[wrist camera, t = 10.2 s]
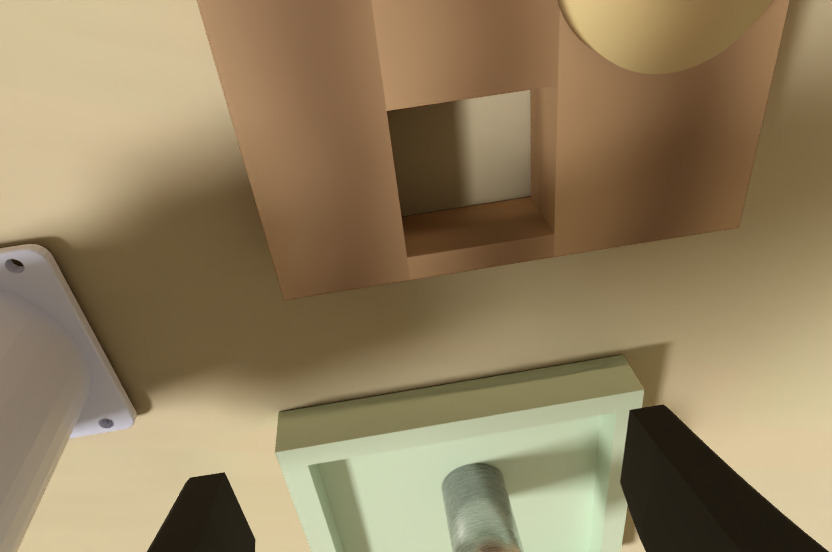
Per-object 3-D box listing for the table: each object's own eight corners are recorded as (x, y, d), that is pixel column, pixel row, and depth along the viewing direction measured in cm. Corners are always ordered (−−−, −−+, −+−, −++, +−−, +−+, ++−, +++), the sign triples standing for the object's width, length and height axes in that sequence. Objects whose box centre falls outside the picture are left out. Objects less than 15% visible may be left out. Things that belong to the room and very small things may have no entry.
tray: (341, 596, 32) (342, 636, 30) (278, 412, 24) (275, 452, 22) (601, 549, 32) (615, 586, 31) (623, 354, 24) (644, 389, 23)
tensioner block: (288, 256, 20) (280, 338, 16) (163, -203, 13) (102, -231, 10) (697, 191, 20) (775, 258, 17) (778, -280, 14) (936, -335, 10)
